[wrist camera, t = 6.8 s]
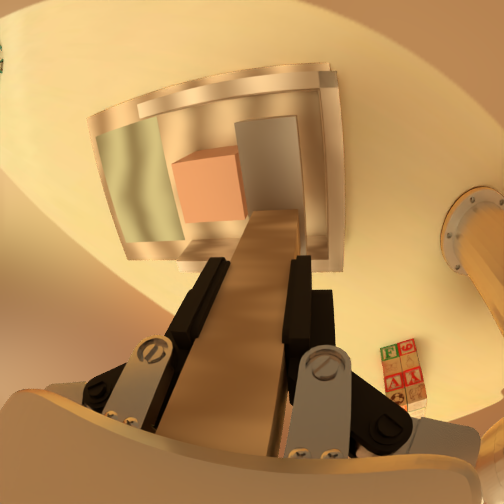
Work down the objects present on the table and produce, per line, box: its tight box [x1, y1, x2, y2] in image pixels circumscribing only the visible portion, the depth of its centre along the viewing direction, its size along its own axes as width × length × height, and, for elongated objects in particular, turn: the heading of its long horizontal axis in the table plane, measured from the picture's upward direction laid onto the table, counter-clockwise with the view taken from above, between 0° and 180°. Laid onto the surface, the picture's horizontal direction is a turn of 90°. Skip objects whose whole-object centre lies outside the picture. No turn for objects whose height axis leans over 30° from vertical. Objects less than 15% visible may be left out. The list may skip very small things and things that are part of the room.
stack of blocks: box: [380, 339, 427, 419], centre depth 38 cm, size 21×6×12 cm, turn 28°
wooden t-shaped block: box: [155, 115, 308, 457], centre depth 11 cm, size 3×12×16 cm, turn 8°
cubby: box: [87, 63, 345, 272], centre depth 28 cm, size 30×22×6 cm
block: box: [171, 145, 248, 223], centre depth 26 cm, size 6×6×6 cm
